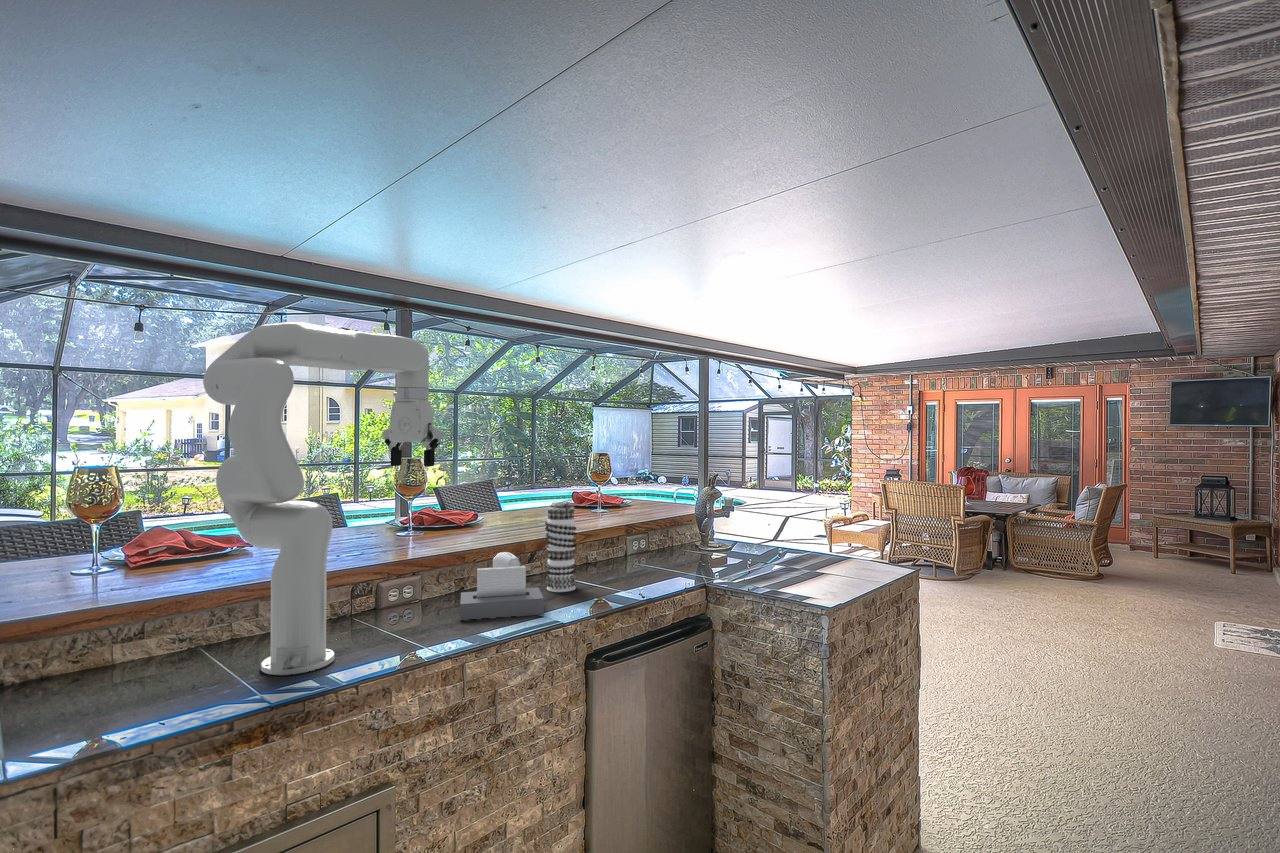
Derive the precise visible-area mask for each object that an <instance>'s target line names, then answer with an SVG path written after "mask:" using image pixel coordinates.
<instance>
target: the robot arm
mask: <svg viewBox="0 0 1280 853" xmlns="http://www.w3.org/2000/svg"><path fill="white" fill-rule="evenodd" d="M429 358H430V355H429V349H427V348H426V347H425V346H424V345H422V343H421V342H420V341H418V340H417V339H414V338H409V337H405V336H399V335H392V334H383V333H371V332H364V331H358V330H357V331H356V330H346V329H339V328H334V327H327V326H322V325H318V324H312V323H306V322H297V321H296V322H294V321H293V322H288V321H287V322H277V323H267V324H266V323H265V324H261V325H258V326H257V327H254V328H253V329H252V330H250V331H247V333H246V334H244V335H243V336H242V337H240V339H238V340H237V341H236V342H234V344H232V345H231V346H230V347H229V348H228V349H226V350H225V351H224V352H223V353H221V355H219V356H218V357H217V358H215V359H214V360H213V361H212V362H211V363H210V365H208V367H207V368H206V370H205V373H204V375H203V381H202V385H203V389H204V391H205V392H206V394H207V395H208V397H209V398H210V399H211V400H213V401H215V402H216V403H219V404H221V405H222V404H223V405H227V406H234V408H233V410H232V411H231V415H230V418H229V422H228V431H227V432H228V439H229V442H230V444H231V447H232V449H233V452H234V454H233V455H231V456H228V457H227V458H226V459H225V460H223V462H222V463H221V464H220V466H218V469H217V472H216V476H215V477H216V479H215V485H216V489H217V490H216V491H217V493H218V496H219V498H220V500H221V502H222V504H223V505H224V507H225V509H226V511H227V513H228V514H229V516H230V518H231V520H232V522H233V524H234V525H235V527H236V529H237V531H238V532H239V534H240V536H241V537H242V539H244V540H245V541H246V542H247V543H248V544H249V545H251V546H253V547H256V548H261V549H272V550H280V551H279V553H278V555H277V557H276V560H275V562H274V564H273V567H272V570H271V575H270V576H271V577H270V651H269V652H270V656H268V657H267V658H264V660H263V661H262V662H261V663H260V670H261V672H262V673H264V674H267V675H271V676H272V675H273V676H289V675H290V676H292V675H298V674H304V673H309V671H310V672H313V671H316V669H317V670H320V669H321V668H325V667H327V666H328V665H330V664H331V663H333V662H334V661H335V657H336V656H335V653H336V652H335V651H334V650H332V649H329V648H327V567H328V566H327V564H328V554H329V553H328V552H329V547H330V542H331V537H332V533H333V532H332V531H333V518H332V515H331V513H330V512H329V510H328V509H327V508H326V507H324V506H323V505H321V504H319V503H316V502H313V501H306V500H295V499H297V498H298V497H299V496H300V495H301V494H302V493H303V490H304V487H305V479H304V474H303V472H302V469H301V467H300V465H299V463H298V461H297V459H296V457H295V454H294V452H293V450H292V448H291V446H290V444H289V440H287V437H286V434H285V432H284V428H283V425H282V417H283V412H284V409H285V405H286V403H287V402H288V399H289V397H290V395H291V394H292V391H293V388H294V384H295V377H294V373H293V370H292V368H291V366H292V367H293V366H297V367H309V368H319V369H329V370H336V371H337V370H339V371H365V370H371V371H373V372H375V373H378V374H391V373H392V374H395V375H396V376H395V378H396V379H395V380H396V382H395V391H394V392H393V394H392V395H393V397H394V398H395V401H393V403H392V406H391V410H390V418H389V427H388V428H387V429H385V430H384V431H382V432H381V435H382V437H383V440H384V443H385V445H387V449H388V450H389V451H390V466H391V467H397V466H398V467H399V466H400V467H401V465H402V464H403V463H402V457H403V455H402V449H400V448H401V446H403V444H404V443H421V444H422V445H423V447H424V448H425V449H424V450H423V466H424V467H434V466H435V461H436V459H435V458H436V455H435V454H436V452H435V450H437V449H438V446H439V445H440V444H441V443H442V439H443V437H444V434H445V432H444V430H442V429H440V428H438V427H437V426H435V422H434V414H433V407H432V402H431V401H429V400H430V397H429V395H430V392H429V391H430V389H429V388H430V387H429V385H430V384H429V383H430V381H429V380H430V379H429V377H430V375H429V374H430V373H429V372H430V370H429V368H430V367H429V366H430V359H429ZM291 674H292V675H291Z"/></svg>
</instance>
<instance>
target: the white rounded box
mask: <svg viewBox="0 0 1280 853" xmlns="http://www.w3.org/2000/svg"><path fill="white" fill-rule="evenodd" d="M496 554H497V555H496ZM496 554H495V555H496V556H495V555H494V556H495V557H493V559H492V568H496V567H514V566H521V563H520V559H519V558H518V557H517V556H516V555H515V554H513V553H511V552H508V551H503V552H501V551H500V552H498V553H496Z"/></svg>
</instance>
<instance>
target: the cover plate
mask: <svg viewBox="0 0 1280 853" xmlns="http://www.w3.org/2000/svg"><path fill="white" fill-rule="evenodd" d="M476 569H477V570H476V575H477V576H476V591H477V599H479V598H493V597H508V596H522V595H526V588H527V581H526V580H527V577H526V576H527V574H526V573H527V571H526V570H527V567H526V566H525V565H520V566H514V567H496V568H493V567H481V568H476Z"/></svg>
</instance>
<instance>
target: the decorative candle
mask: <svg viewBox="0 0 1280 853" xmlns="http://www.w3.org/2000/svg"><path fill="white" fill-rule="evenodd" d="M574 510H575V507H574V506H573V504H572V503H571V502H568V501H567V502H566V501H565V502H563V501H557V502H552V503H551V504H550V506H549V507H547V522H546V521H545V523H544V524H545V525H546V526H545V531H546V532H547V533H545V537H546V539H545V543H547V545H546V546H545V548H546V550H547V564H546V566H545V567H546V568H547V570H546V574H547V576H546V577H545V579H546V583H545V584H546V586H547V587H546V591H548V592H551V593H552V592H553V593H565V592H572V591H574V590H576V586H575V585H576V584H577V582H576V578H577V576H576V575H575V573H576V570H577V569H575V568H576V564H575V556H574V555H575V553H574V552H575V550H576V547H577V544H575V543H576V542H577V539H576V538H574V537H575V536H576V535H577V532H575V531H576V530H577V526H575V525H574V524H575V513H574V512H575V511H574Z"/></svg>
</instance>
